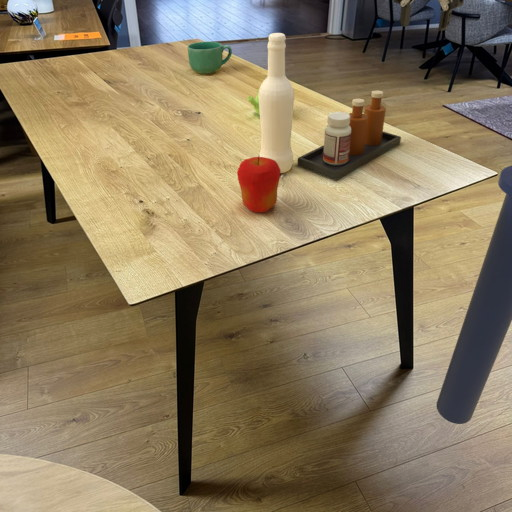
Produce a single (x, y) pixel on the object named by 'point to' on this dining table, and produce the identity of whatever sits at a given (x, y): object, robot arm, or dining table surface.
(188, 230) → the dining table surface
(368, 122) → the amber bottle far
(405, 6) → the robot arm
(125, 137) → the dining table surface
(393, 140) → the tray
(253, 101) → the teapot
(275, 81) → the bottle
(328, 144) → the pill bottle
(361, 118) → the amber bottle near
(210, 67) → the mug
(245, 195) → the apple
